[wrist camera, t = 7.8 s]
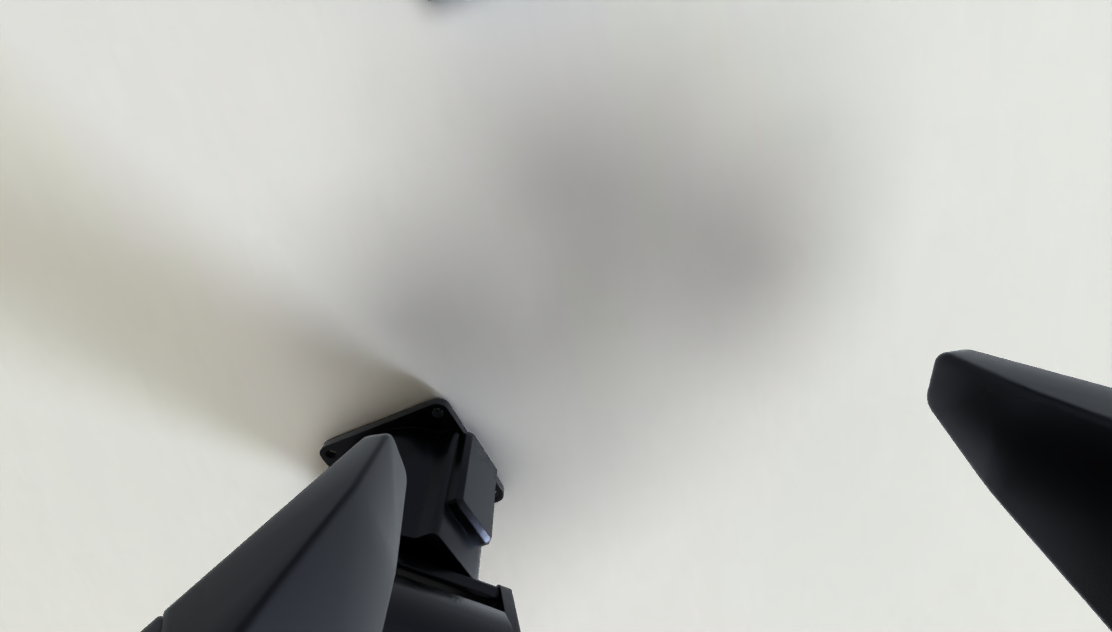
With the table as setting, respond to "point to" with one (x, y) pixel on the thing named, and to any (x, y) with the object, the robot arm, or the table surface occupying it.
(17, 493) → the table surface
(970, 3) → the table surface
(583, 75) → the table surface
